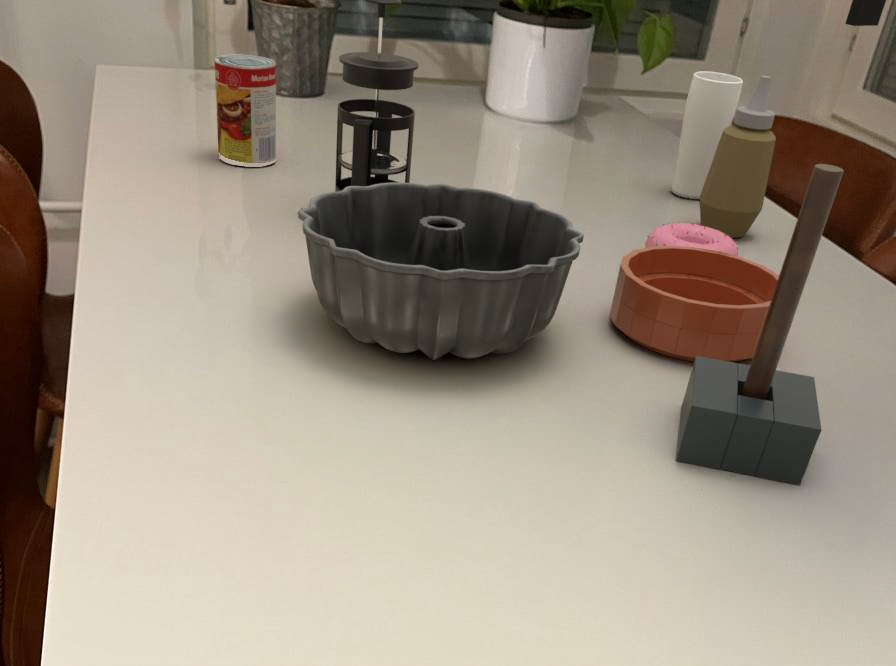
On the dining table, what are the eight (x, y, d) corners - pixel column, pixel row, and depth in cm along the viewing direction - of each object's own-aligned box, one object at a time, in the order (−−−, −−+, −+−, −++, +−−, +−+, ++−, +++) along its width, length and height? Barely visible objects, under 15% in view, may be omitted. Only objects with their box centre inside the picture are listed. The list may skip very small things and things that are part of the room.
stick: (749, 441, 84) (842, 166, 70) (749, 452, 83) (845, 173, 68) (725, 437, 84) (814, 162, 70) (725, 448, 83) (815, 169, 69)
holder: (794, 429, 87) (814, 376, 83) (800, 485, 79) (821, 429, 76) (680, 408, 88) (696, 355, 85) (675, 460, 80) (691, 405, 77)
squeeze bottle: (686, 218, 132) (725, 66, 120) (746, 224, 132) (790, 73, 121) (697, 238, 126) (739, 80, 114) (759, 245, 126) (807, 87, 114)
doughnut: (745, 269, 118) (756, 233, 116) (714, 293, 111) (724, 256, 108) (661, 245, 122) (670, 210, 120) (626, 267, 115) (634, 230, 112)
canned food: (239, 148, 140) (236, 51, 132) (287, 159, 137) (287, 61, 130) (206, 159, 134) (202, 59, 126) (255, 171, 132) (254, 69, 124)
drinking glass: (662, 196, 139) (690, 76, 129) (668, 184, 144) (695, 68, 134) (710, 205, 138) (742, 85, 128) (714, 193, 143) (745, 76, 133)
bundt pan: (267, 282, 102) (266, 180, 96) (496, 270, 111) (509, 175, 104) (346, 397, 84) (351, 280, 78) (612, 372, 93) (637, 265, 86)
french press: (346, 197, 126) (354, -16, 111) (417, 209, 125) (435, -5, 110) (318, 224, 117) (323, -3, 103) (394, 237, 116) (410, 9, 101)
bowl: (768, 318, 107) (786, 262, 103) (772, 381, 94) (793, 320, 90) (616, 291, 109) (628, 235, 105) (600, 349, 96) (613, 288, 93)
